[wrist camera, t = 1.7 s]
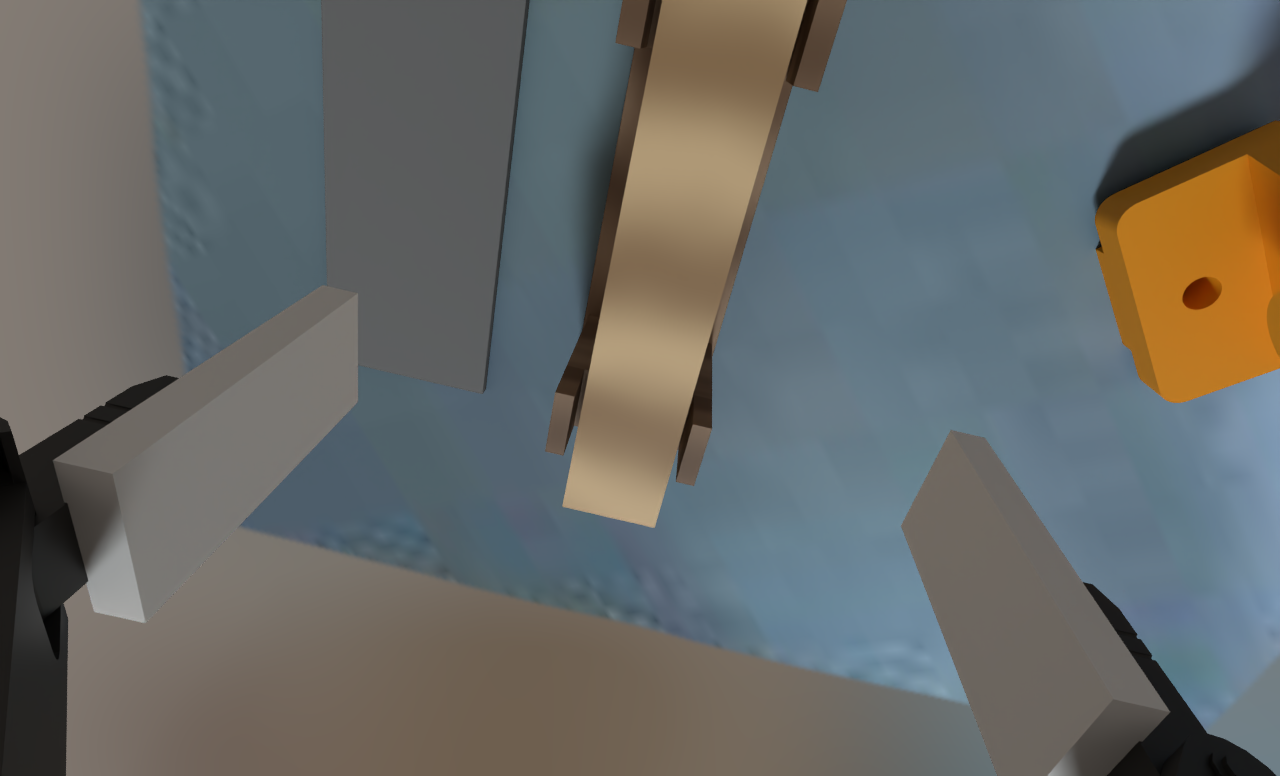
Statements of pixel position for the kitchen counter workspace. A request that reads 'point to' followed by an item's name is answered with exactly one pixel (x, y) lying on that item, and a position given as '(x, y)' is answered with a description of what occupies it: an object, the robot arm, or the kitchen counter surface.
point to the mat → (420, 175)
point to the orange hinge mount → (1199, 267)
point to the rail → (676, 241)
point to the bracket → (639, 33)
